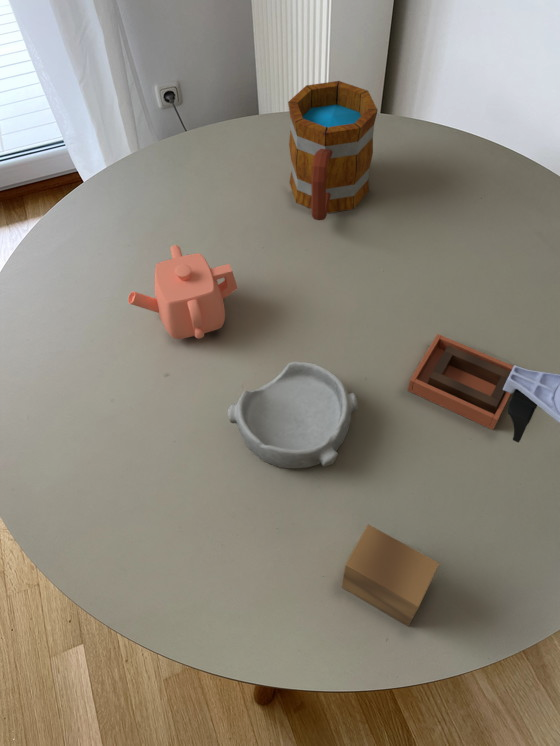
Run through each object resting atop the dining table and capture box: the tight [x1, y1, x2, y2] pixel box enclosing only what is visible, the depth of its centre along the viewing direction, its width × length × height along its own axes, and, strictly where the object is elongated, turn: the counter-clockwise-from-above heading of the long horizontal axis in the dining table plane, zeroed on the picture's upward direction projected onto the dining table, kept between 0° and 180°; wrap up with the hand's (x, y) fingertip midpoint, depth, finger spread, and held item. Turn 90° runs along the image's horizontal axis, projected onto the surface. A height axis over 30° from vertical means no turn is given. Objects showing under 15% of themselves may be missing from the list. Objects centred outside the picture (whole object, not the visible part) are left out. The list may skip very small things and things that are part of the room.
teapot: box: [127, 244, 239, 340], centre depth 90 cm, size 12×12×10 cm
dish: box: [227, 361, 358, 469], centre depth 81 cm, size 14×14×5 cm
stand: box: [341, 524, 440, 627], centre depth 68 cm, size 8×5×8 cm, turn 59°
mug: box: [287, 80, 378, 221], centre depth 102 cm, size 20×14×15 cm
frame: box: [428, 345, 511, 414], centre depth 84 cm, size 9×6×2 cm, turn 59°
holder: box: [407, 333, 514, 431], centre depth 85 cm, size 12×9×2 cm
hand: (554, 450), depth 68 cm, fingers open, 7 cm apart
